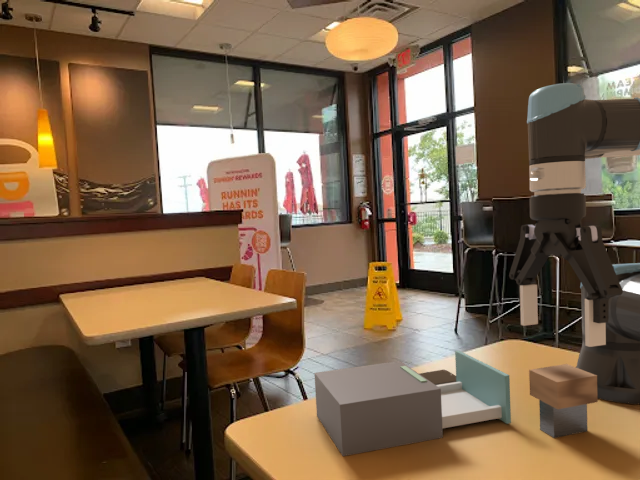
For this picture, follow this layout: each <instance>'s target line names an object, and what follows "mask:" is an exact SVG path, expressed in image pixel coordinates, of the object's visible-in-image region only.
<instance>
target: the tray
mask: <svg viewBox="0 0 640 480" xmlns="http://www.w3.org/2000/svg"><path fill="white" fill-rule="evenodd" d="M454 354H455V357H454V358H455V376H456V382H453V383H446V384H440V385H436V386H438V387H439V388H441V405H442V429H446V428H452V427H458V426H464V425H469V424H474V423H479V422H480V423H482V422H484V421H485V422H486V421H489V420H490V421H491V420H496V419H497V420H500V421H502V422H503V423H505V424H511V423H512V418H511V417H512V415H511V414H512V413H511V387H510V383H511V382H510V375H509V374H507V373H506V372H504V371H501V370H500V369H497V368H496V367H493V366H491V365H489V364H488V363H485V362H483V361H481V360H479V359H477V358H475V357H473V356H471V355H469V354H468V353H465V352H463V351H461V350H455V351H454Z"/></svg>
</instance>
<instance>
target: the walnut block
mask: <svg viewBox="0 0 640 480" xmlns="http://www.w3.org/2000/svg"><path fill="white" fill-rule="evenodd" d="M528 372H529V373H528V374H529V375H528V376H529V378H528V379H529V396H531V397H533V398H535V399H537V400H538V401H539V400H541V401H543V402H545V403H547V404H548V405H550V406H552V407H554V408H556V409H562V408H568V407H573V406H579V405H584V404H587V405H588V404H594V403H598V400H599V398H597V375H594V374H592V373H589V372H586V371H584V370H581V369H579V368H576V366H573V365H571V364H568V363H563V364H557V365H551V366H545V367H539V368H533V369H529V371H528Z"/></svg>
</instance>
